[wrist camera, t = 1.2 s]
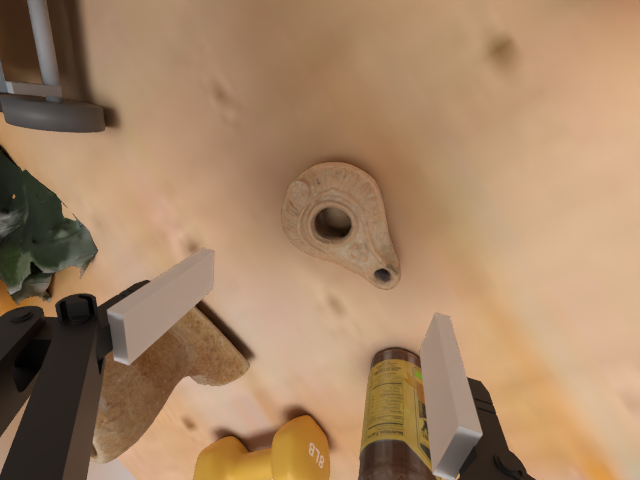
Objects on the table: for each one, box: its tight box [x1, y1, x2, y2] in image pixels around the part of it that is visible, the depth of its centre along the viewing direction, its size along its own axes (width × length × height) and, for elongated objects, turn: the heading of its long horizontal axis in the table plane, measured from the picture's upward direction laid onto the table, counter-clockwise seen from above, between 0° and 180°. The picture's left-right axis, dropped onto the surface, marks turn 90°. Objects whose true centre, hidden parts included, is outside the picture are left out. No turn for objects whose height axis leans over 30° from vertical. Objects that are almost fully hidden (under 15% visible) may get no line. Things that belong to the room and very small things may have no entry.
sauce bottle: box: [358, 348, 441, 480], centre depth 24 cm, size 6×6×20 cm
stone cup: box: [90, 306, 250, 464], centre depth 32 cm, size 15×12×15 cm
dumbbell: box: [193, 415, 330, 480], centre depth 40 cm, size 19×9×8 cm, turn 124°
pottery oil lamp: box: [281, 162, 401, 290], centre depth 26 cm, size 9×12×7 cm
